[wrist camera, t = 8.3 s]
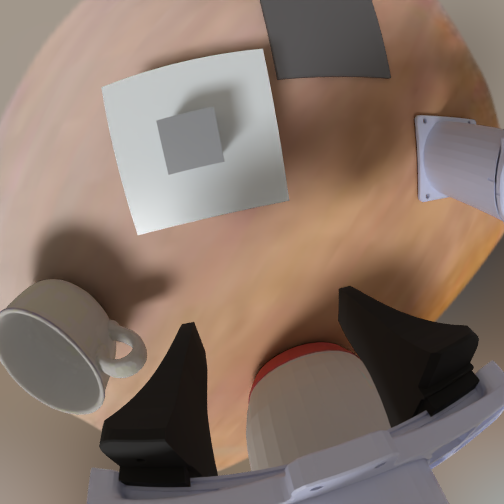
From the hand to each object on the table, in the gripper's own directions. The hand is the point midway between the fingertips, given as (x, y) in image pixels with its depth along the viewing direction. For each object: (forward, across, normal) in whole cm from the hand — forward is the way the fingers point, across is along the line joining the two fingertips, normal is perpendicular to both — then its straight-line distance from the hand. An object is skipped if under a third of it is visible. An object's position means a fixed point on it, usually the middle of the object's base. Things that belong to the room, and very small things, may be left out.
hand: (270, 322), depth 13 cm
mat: (+9, -9, -17) cm, 21 cm away
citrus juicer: (+10, -4, +18) cm, 21 cm away
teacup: (+10, +16, +3) cm, 19 cm away
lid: (+6, +2, -9) cm, 10 cm away
